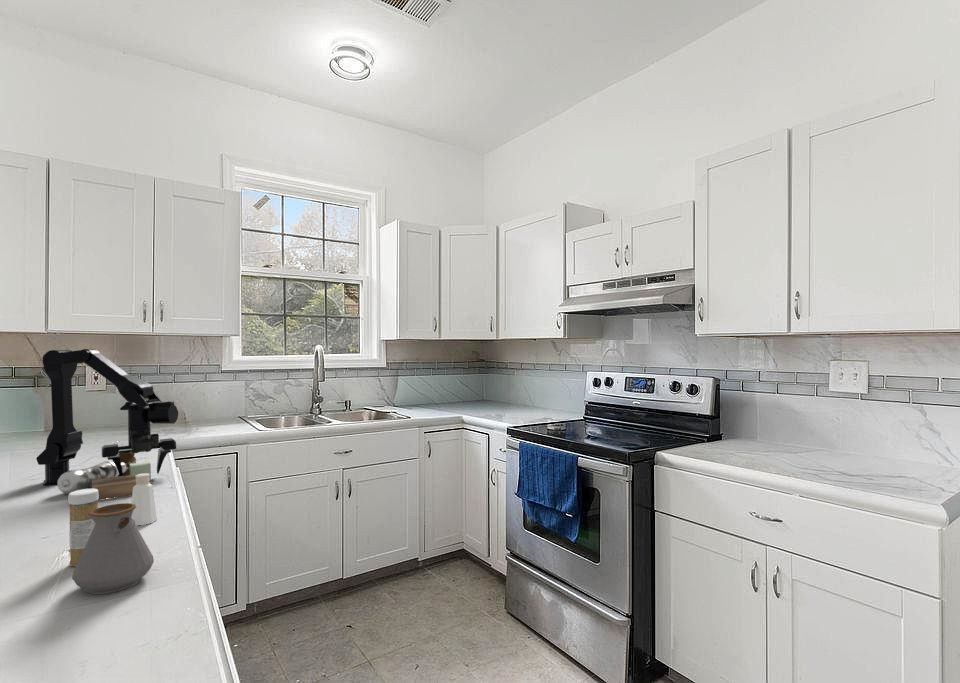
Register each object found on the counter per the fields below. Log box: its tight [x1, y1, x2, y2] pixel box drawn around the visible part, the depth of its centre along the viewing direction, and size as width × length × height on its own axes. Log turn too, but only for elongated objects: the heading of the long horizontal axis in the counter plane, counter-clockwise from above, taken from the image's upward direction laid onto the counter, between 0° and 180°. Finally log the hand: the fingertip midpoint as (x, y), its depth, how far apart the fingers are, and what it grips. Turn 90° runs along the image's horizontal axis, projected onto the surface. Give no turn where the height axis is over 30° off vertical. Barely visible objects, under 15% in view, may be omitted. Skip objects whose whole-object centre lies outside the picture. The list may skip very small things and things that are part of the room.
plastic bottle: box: [56, 460, 127, 495], centre depth 155 cm, size 6×7×20 cm
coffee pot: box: [72, 502, 155, 595], centre depth 87 cm, size 21×12×15 cm, turn 40°
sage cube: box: [130, 461, 152, 482], centre depth 161 cm, size 5×5×5 cm
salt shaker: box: [131, 473, 158, 527], centre depth 123 cm, size 5×5×11 cm
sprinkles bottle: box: [67, 488, 99, 567], centre depth 100 cm, size 5×5×14 cm
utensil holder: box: [113, 440, 137, 477], centre depth 169 cm, size 6×6×12 cm
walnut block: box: [91, 474, 136, 501], centre depth 147 cm, size 10×10×4 cm
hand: (140, 475), depth 161 cm, fingers open, 9 cm apart
